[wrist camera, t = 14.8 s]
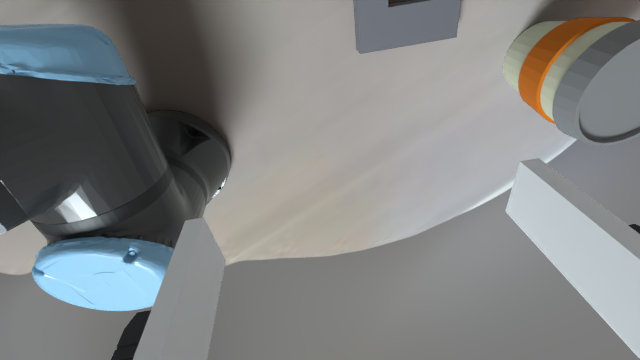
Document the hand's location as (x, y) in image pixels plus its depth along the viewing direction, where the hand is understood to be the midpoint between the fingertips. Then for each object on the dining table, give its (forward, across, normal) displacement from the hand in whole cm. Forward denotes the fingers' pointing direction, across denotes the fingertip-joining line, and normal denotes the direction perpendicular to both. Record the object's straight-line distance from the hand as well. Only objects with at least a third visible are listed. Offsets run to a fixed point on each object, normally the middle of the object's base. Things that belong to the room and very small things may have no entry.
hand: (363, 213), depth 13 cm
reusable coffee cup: (+32, -31, +6) cm, 45 cm away
